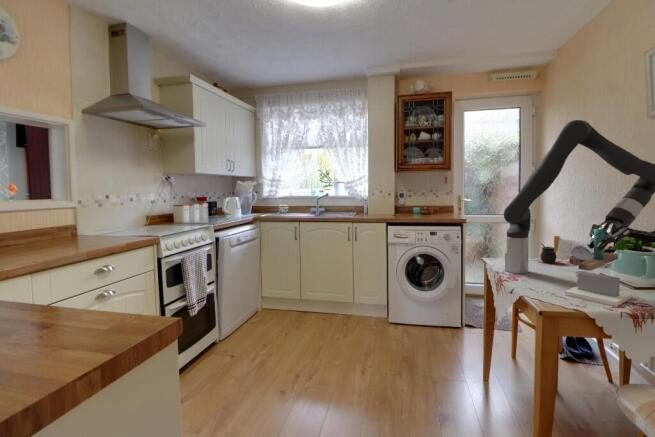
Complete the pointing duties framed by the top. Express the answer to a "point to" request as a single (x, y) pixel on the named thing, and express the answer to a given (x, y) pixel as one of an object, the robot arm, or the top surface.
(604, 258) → the teal peg on base
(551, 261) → the mate gourd
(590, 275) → the ridge stand
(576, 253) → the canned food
